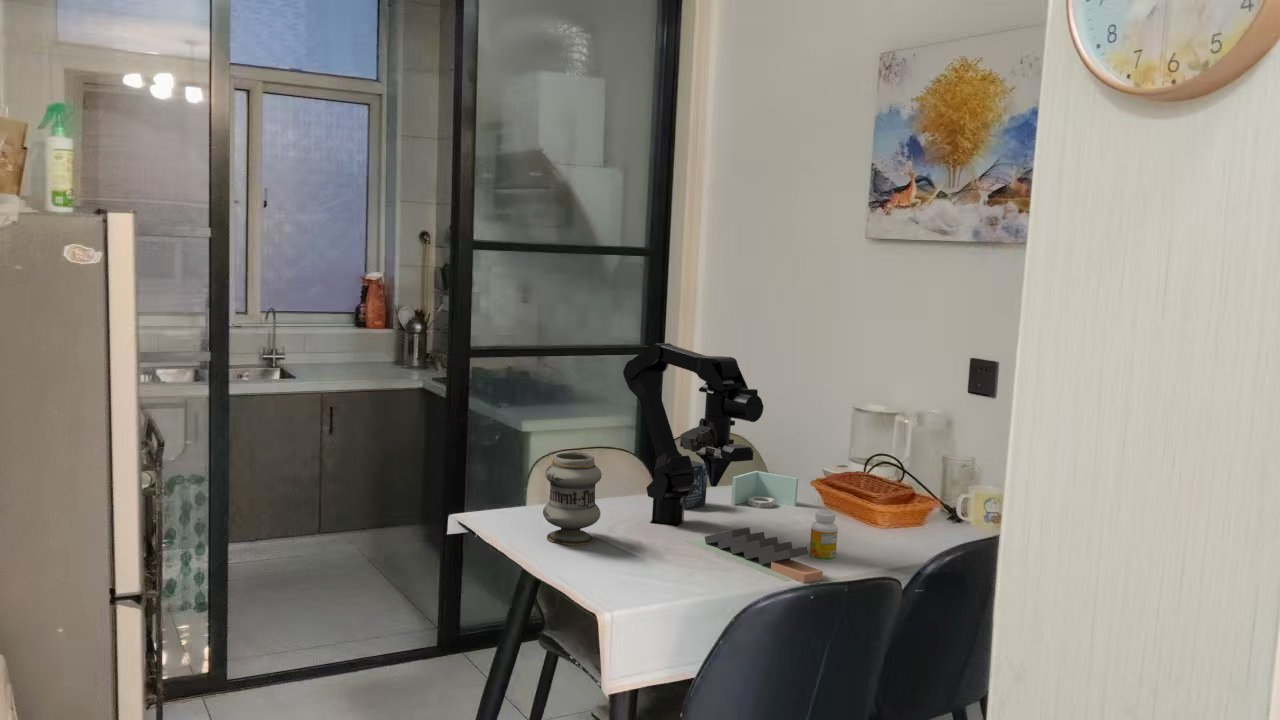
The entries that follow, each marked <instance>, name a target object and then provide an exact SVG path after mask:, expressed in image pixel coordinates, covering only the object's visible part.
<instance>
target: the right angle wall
mask: <svg viewBox="0 0 1280 720" xmlns="http://www.w3.org/2000/svg"><path fill="white" fill-rule="evenodd" d="M731 482H732V484H731V486H732V488H731V498H730V499H731V501H730V505H731V506H737V505H740V504H742V502H743V503H746V502H747V505H748V506H751V507H752V508H757V509H772V508H774V507H775V505H776V504H780V503H781V504H780V505H785V504H786V505H785V506H790V505H791V507H796V506H797V503H798V502H797V500H798V489H799V486H798V485H799V478H798V477H793V476H786V475H782V474H776V473H770V472H766V471H761V470H760V471H759V470H754V471H751V472H747V473H743V474H740V475H739V474H738V475H735V476H732V481H731ZM745 501H746V502H745ZM775 502H776V503H775ZM739 503H740V504H739ZM736 504H737V505H736Z"/></svg>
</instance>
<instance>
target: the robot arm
mask: <svg viewBox="0 0 1280 720" xmlns="http://www.w3.org/2000/svg"><path fill="white" fill-rule="evenodd" d="M669 365H671V366H674V367H677V368H681V369H684V370H687V371H688V372H689V371H690V372H692V373H694V374H696V375H697V377H698V378H699V379H701V380H702V381H704V382H705V383H704V384H703V385H702V386H701V387H699V389H698V391H699V392H700V393H705V406H704V407H705V409H704V418H700V420H699V422H698V423H699V424H698V426H696V427H693V428H690V429H689V430H686V431H684V432H682V433H681V434H680V442H679V443H680V444H679V447H681V448H682V449H683V450H687V451H691V452H692V453H693V452H694V453H695V454H696V455H697V456H698V457H699V458H700V459H701V460H702V461H703V464H705V466H706V470H707V479H708V481H709V485H710V486H711V487H713V488H714V487H717V486H718V484H719V483H720V481H721V479H722V477H723V475H724V474H725V472H726V470H727V469H728V467H730V464H731V463H736V462H737V463H738V462H746V461H747V462H748V461H754V451H755V450H753V448H752V447H751V446H747V445H746V444H745V445H744V444H742V443H741V444H740V443H738V444H735V443H734V442H735V439H732V438H731V427H732V426H735V425H736V421H735V420H732V419H737V420H740V421H745V422H751V423H755V422H757V421H759V419H760V418H761V417H762V416H763V412H764V404H763V401H762V398H761V397H760V396H759V395H758V393H759V391H758V389H756V388H748V384H747V382H746V380H745V377H744V375H743V374H742V372H741V369H740V367H739V364H738V361H737V359H736V358H735V357H732V356H718V355H716V356H715V355H706V354H705V355H704V354H702V353H699V352H694V351H692V350H689V349H686V348H683V347H679V346H676V345H674V344H671V342H669V343H668V342H667V343H665V342H662V343H656V342H655V343H654V344H652V345H651V346H650V347H649V348H648V349H647V350H645V351H643V352H642V353H640V354H637V355H636V356H635V357H633V358H632V359H629V360H628V361H627V362H626V364H625V365H624V367H623V371H622V373H623V378H624V380H625V382H626V385H627V387H628V389H629V390H630V391H631V392H632V394H634V396H635V397H637V398H638V401H639V403H640V406H641V410H642V412H643V417H644V419H645V422H646V425H647V426H646V427H647V429H648V433H649V435H650V440H651V442H652V446H653V449H654V452H655V455H656V461H655V465H654V471H653V472H654V477H655V478H654V479H653V480H652V481H651V482H650V483H649V484H648V485H647V486H646V494H647V497H648V498H651V499H653V500H652V511H651V512H652V515H651V520H650V521H649V524H655V525H661V526H670V527H679V526H680V525H681V524H683V522H684V521H685V510H684V508H685V504H684V503H682V501H683V497H687V496H688V495H689V493H690V490H691V487H692V485H693V482H694V474H693V473H694V472H695V471H694V469H693V467H692V464H691V461H692V460H691V457H690V456H689V455H688V454H687V455H683V454H681V453H680V451H679V450H678V447H677V444H676V441H675V438H674V435H673V432H672V428H671V425H670V422H669V418H668V415H667V413H666V410H665V406H664V402H663V400H662V396H661V389H662V385H663V377H662V375H663V373H664V372H665V371H667V370H668V366H669Z"/></svg>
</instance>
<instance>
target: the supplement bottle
mask: <svg viewBox="0 0 1280 720" xmlns="http://www.w3.org/2000/svg"><path fill="white" fill-rule="evenodd" d="M814 517H815V521H814V522H812V524H811V527H810V540H809V541H810V542H809V550H808V552H809V555H808V556H809V558H811V559H813V560H817V561H824V562H825V561H826V562H828V561H835V560H836V555H837V542H838V525H837V524H836V523H835V522H836V513H834V512H832V511H826V510H825V511H823V510H820V511H819V510H818V511H816V512H815V516H814Z"/></svg>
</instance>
